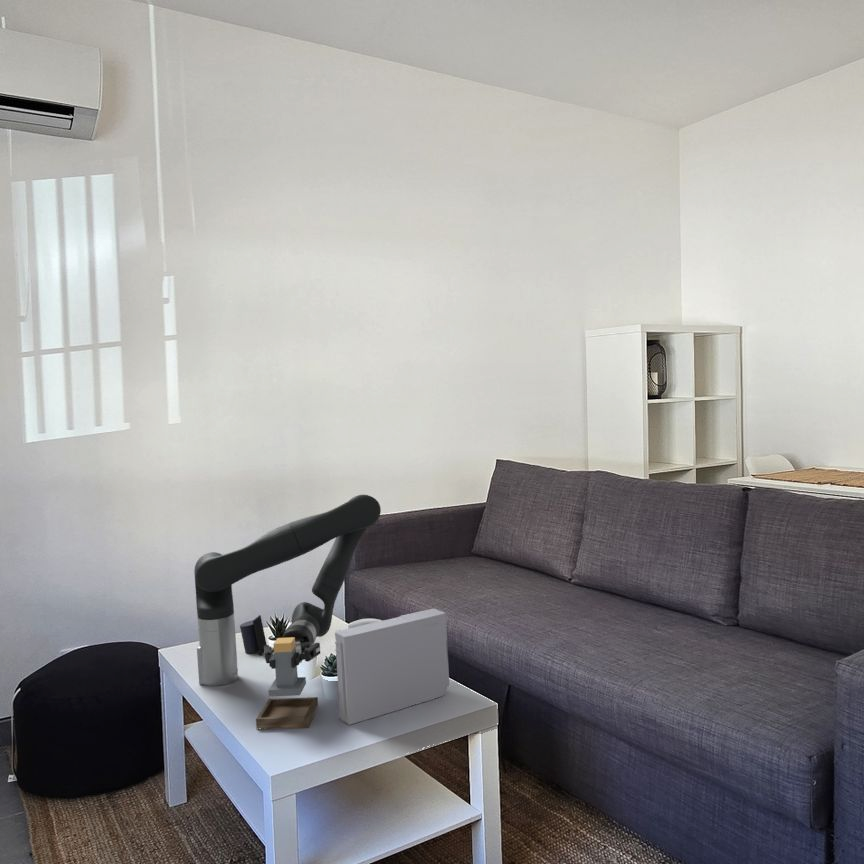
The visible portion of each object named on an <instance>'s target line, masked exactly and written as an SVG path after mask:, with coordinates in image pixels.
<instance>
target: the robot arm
mask: <svg viewBox="0 0 864 864" xmlns="http://www.w3.org/2000/svg"><path fill="white" fill-rule="evenodd" d="M381 511H382V510H381V504H380V502H379V501H378V500H377V499H376V498H375V497H373V496H372V495H368V494H359V495H356V496H353V497H351V498H350V499H349V500H348V501H347V502H344V503H343V504H340V505H339V506H337V507H334V508H332V509H330V510H328V511H325V512H323V513H318V514H315V515H314V514H313V515H309V516H308V517H304V518H300V519H297V520H294V521H291V522H289V523H287V524H283V525H282V526H278V527H276V528H275V529H272V530H270V531H268V532H266V533H265V534H263V535H261V536H260V537H257V539H255V540H254V541H253V542H250V544H248V545H246V546H244V547H241V548H238V549H237V550H233V551H230V552H227V553H225V554H222V553H220V552H212V551H211V552H207V553H205V554H203V555H202V556H200V557H199V558H198V560H197V561H196V563H195V566H194V571H193V572H194V574H193V575H194V585H195V600H196V601H195V602H196V612H197V613H196V614H197V628H198V641H199V642H198V645H199V646H197V647H196V655H197V656H196V658H197V668H198V669H197V670H198V673H197V674H198V685H205V686H222V685H227V684H230V683H233V682H235V681H237V679H238V678H239V669H238V656H237V653H238V651H237V639H236V638H237V637H236V624H235V623H236V622H235V609H234V605H235V604H234V598H233V597H234V596H233V586H232V585H233V584H235V583H237V582H239V581H241V580H243V579H245V578H246V577H247V578H248V577H249V576H250V575H253V574H256V573H258V572H260V571H264V570H268V569H270V568H273V567H274V566H275V567H276V566H277V565H280V564H283V563H286V562H288V561H291V560H293V559H296V558H299V557H301V556H303V555H305V554H308V553H309V552H312V551H313V550H315V549H318V548H319V547H321V546H323V545H325V544H327V543H328V542H330V541H332V540H334V542H333V544H332V547H330V551H329V552H328V555H327V556H326V558H325V560H324V562H323V564H322V566H321V567H320V570H319V572H318V575H317V577H316V578H315V581H314V583H313V585H312V588H311V592H312V594H313V595H314V596H316V597H317V598H318V599H320V601H322V602H323V606H324V608H321V607H318V605H317V606H316V605H315V604H313V603H310V602H307V601H304V602H300V603H298V604H297V605H296V606H295V608H294V610H293V612H292V615H291V624H290V625H289V627H287V629H286V630H285V631H284V633H283V635H282V636H281V638H290V637H295V647H296V653H295V654H294V655H293V657H292V658H291V666H292V668H295V667H296V666H297V667H298V666H299V665H300V664H301V663H303V661H305V662H310V661H312V660H313V659H315V658H316V657H318V656H319V655H321V643H320V642H316V639H317V637H318V638H321V637H324V636H326V635H327V633H328V632H329V631H330V629H331V625H332V620H333V614H334V608H335V604H336V600H337V599H338V598H337V597H338V595H339V592H340V590H341V588H342V586H343V584H344V582H345V579H346V577H347V575H348V571H349V569H350V566H351V562H352V560H353V557H354V553H355V551H356V548H357V547H358V544H359V542H360V540H361V539H362V537H363V536H364V534H365V533H366V531H367V530H368V528H370V527H373V526H374V525H375V524H376V523H377V522H378V520H379V519H380V516H381ZM263 655H264V660H265V663H266V664H269V667H270V668H271V670H272V669H273V670H274V669H275V658H274V646H270V645H269V644H267V645H265V646H264V653H263Z"/></svg>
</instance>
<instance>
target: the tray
mask: <svg viewBox="0 0 864 864" xmlns="http://www.w3.org/2000/svg"><path fill="white" fill-rule="evenodd" d="M318 708H319V700H318V696H314V697H286V698H285V697H283V698H268V700H267V701H266V703H265V704H264V705H263V707H262V709H261V710H260V712H259V714H258V715H257V716H256V718H255V725H256V726H255V727H256V730H263V729H262V728H284V729H308V728H309V727H310V725H311V723H312V720H313V719H314V716H315V715H316V712H317V711H318ZM257 728H258V729H257ZM259 728H261V729H259Z"/></svg>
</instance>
